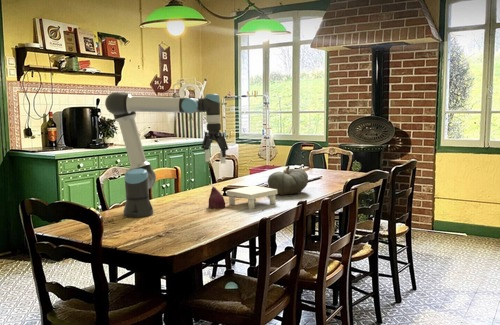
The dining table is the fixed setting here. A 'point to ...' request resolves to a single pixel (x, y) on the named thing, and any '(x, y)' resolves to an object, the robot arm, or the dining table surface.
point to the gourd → (288, 181)
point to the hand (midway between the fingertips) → (215, 162)
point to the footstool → (251, 194)
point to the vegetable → (216, 199)
